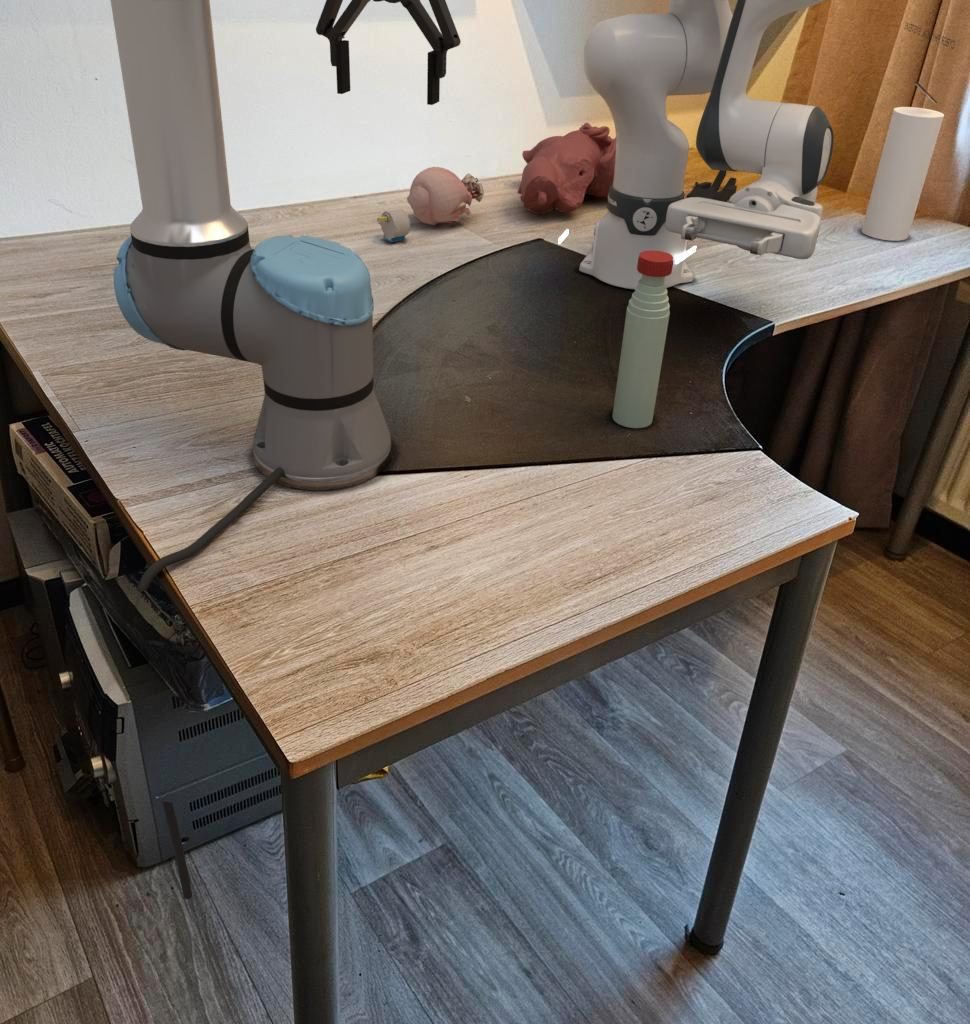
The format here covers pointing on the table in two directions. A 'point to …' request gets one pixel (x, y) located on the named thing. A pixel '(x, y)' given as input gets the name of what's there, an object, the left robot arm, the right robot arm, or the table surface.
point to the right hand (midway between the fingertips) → (720, 241)
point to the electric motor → (394, 225)
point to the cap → (655, 263)
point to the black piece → (715, 189)
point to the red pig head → (568, 170)
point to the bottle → (642, 353)
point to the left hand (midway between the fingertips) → (388, 97)
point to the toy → (442, 195)
